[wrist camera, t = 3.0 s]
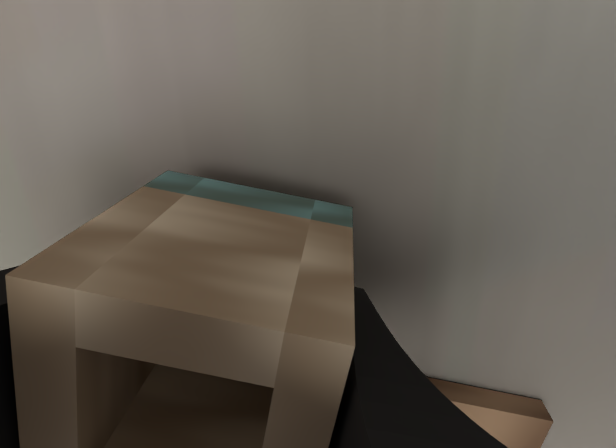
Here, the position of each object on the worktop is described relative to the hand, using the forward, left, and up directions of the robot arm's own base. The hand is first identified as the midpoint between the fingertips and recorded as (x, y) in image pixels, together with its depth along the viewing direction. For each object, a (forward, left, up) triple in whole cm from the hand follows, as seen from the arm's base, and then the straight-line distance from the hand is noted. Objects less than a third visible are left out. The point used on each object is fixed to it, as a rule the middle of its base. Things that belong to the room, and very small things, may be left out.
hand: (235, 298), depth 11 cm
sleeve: (0, 0, -2) cm, 2 cm away
